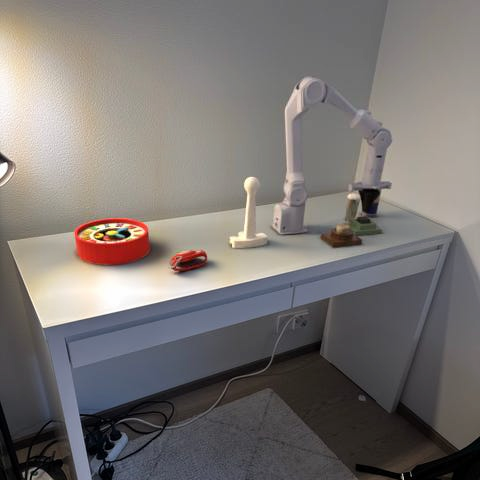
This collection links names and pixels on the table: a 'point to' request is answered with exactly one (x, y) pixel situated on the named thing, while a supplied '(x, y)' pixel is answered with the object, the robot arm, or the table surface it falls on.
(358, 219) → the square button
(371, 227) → the green stepped block
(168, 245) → the table surface
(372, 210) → the energy drink
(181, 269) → the tracker holder
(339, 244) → the brown stepped base
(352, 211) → the milkshake
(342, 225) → the round button
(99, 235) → the toy clock
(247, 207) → the joystick
